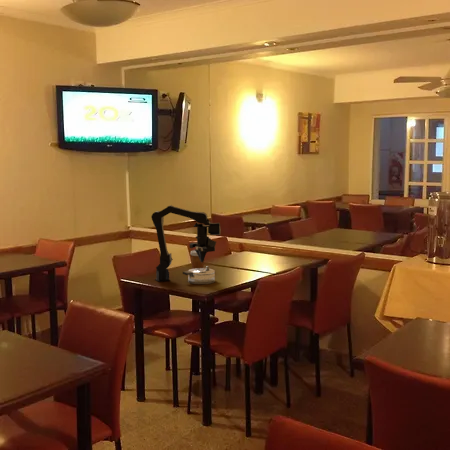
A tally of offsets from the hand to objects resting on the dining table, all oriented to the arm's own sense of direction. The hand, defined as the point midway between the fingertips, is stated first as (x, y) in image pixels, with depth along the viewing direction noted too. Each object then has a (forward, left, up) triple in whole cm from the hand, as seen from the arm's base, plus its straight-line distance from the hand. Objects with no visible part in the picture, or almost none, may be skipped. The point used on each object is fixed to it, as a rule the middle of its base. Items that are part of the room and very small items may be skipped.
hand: (202, 262), depth 328 cm
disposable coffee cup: (+14, +28, -11) cm, 33 cm away
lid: (-2, 0, -6) cm, 6 cm away
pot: (-1, 0, -11) cm, 11 cm away
